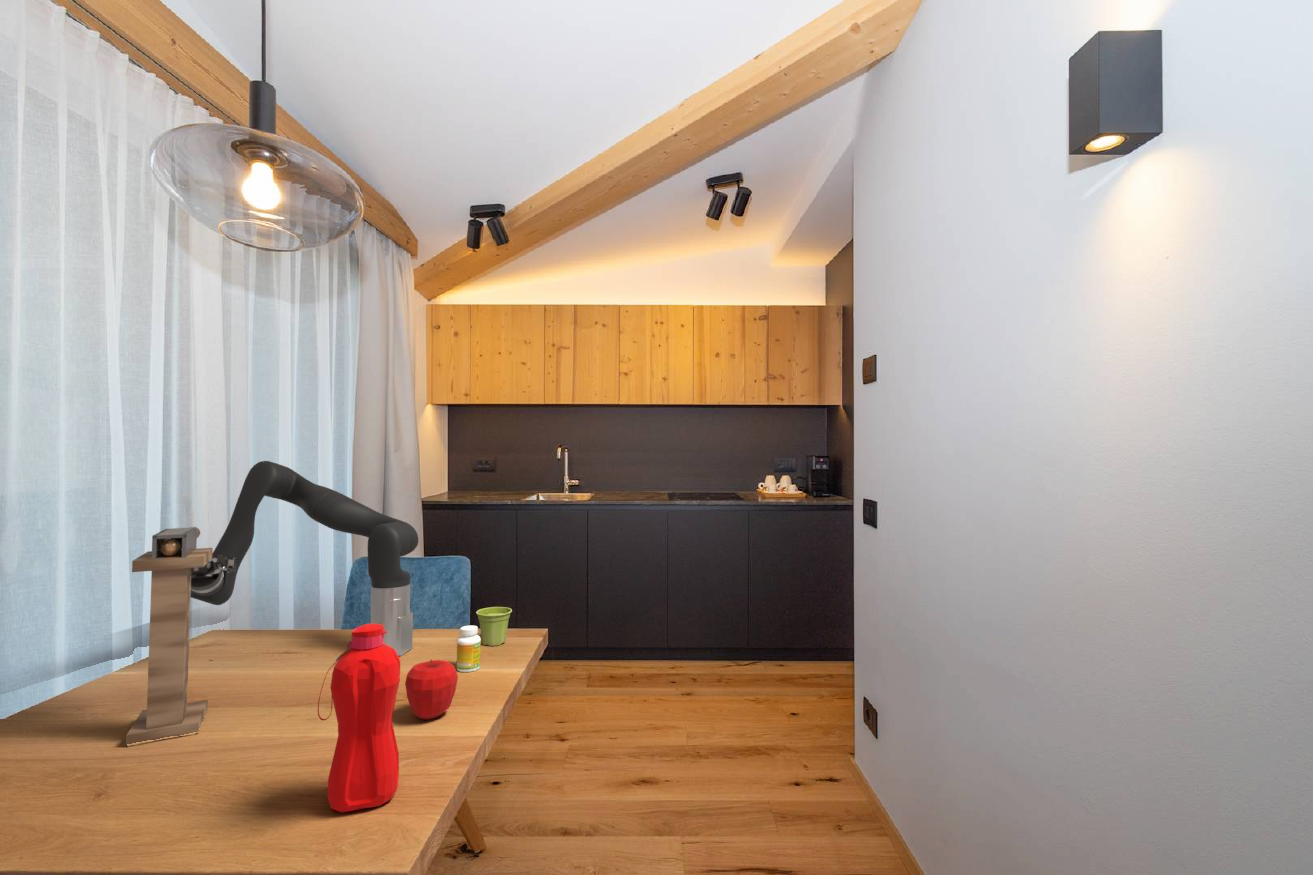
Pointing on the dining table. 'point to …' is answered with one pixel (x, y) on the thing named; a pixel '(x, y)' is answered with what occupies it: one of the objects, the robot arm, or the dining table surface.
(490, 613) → the plant pot
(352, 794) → the water bottle
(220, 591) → the robot arm
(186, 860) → the dining table surface
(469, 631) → the supplement bottle
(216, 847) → the dining table surface
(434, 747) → the dining table surface
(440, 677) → the apple
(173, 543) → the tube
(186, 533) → the grey hollow box
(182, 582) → the wooden pedestal stand
